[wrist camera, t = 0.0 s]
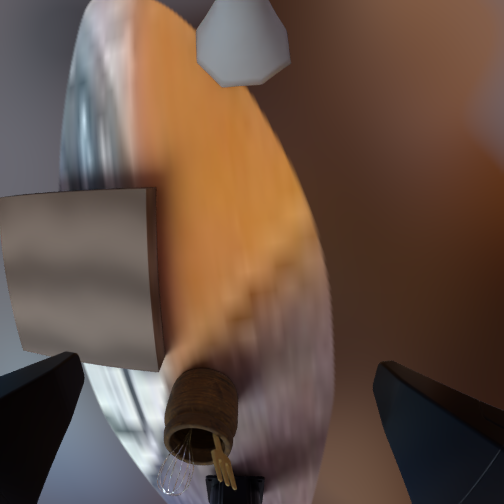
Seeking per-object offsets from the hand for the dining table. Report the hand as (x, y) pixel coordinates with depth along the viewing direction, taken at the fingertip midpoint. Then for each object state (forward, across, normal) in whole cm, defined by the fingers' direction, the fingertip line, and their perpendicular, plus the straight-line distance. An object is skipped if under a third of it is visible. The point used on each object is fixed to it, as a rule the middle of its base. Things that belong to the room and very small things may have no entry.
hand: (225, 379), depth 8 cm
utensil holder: (+16, +2, +13) cm, 21 cm away
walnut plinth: (+16, +13, +2) cm, 20 cm away
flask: (+16, 0, -16) cm, 22 cm away
